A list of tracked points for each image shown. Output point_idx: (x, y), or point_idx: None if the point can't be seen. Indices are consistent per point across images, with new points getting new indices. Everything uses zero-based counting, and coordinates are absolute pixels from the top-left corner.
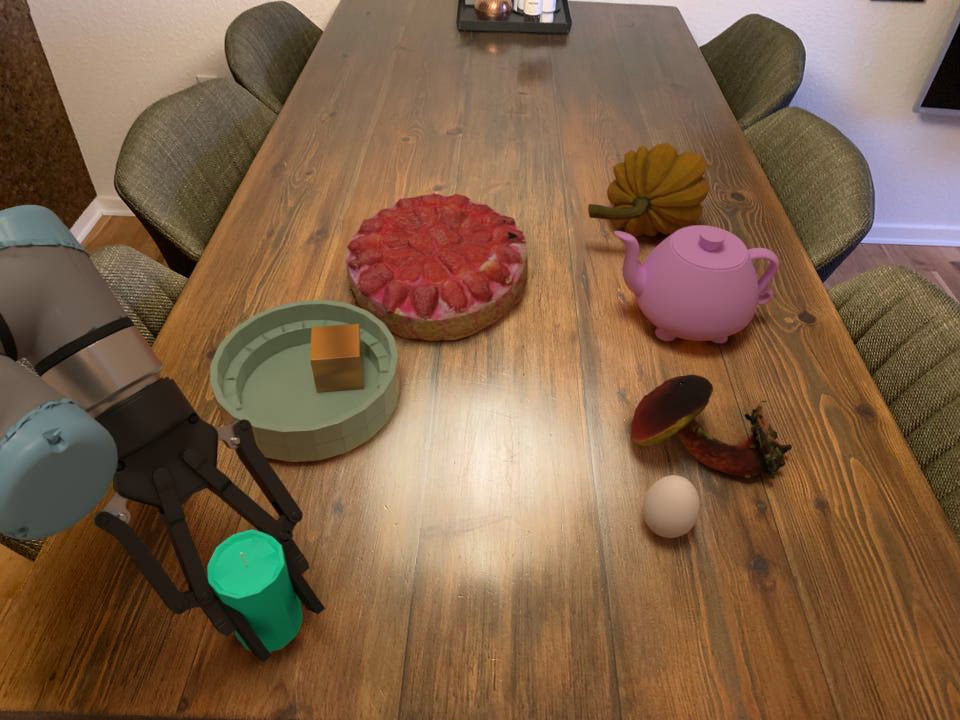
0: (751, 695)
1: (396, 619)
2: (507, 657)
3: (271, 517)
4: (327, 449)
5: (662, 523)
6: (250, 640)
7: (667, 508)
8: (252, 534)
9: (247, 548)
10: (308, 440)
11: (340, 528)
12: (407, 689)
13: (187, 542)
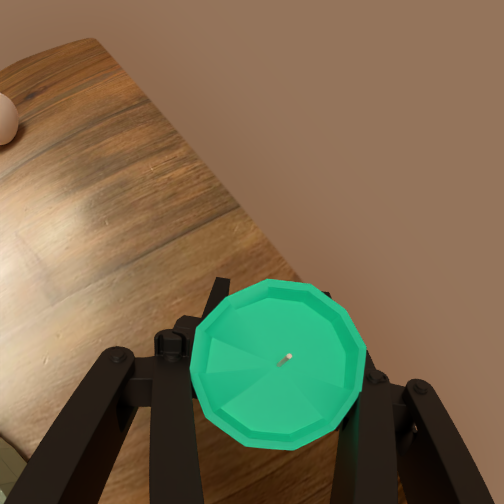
0: (111, 68)
1: (160, 262)
2: (145, 161)
3: (154, 389)
4: (18, 466)
5: (11, 111)
6: None
7: (2, 102)
8: (214, 409)
9: (247, 395)
10: None
11: None
12: (218, 210)
13: (371, 472)
